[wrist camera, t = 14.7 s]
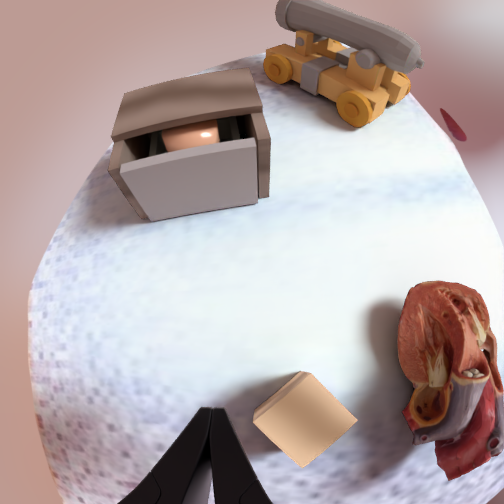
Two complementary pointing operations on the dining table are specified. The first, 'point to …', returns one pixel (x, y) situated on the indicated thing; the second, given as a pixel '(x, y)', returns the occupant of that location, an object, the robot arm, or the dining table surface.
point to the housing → (189, 118)
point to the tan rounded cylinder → (191, 135)
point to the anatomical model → (452, 375)
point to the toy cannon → (343, 58)
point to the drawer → (195, 175)
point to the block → (303, 418)
